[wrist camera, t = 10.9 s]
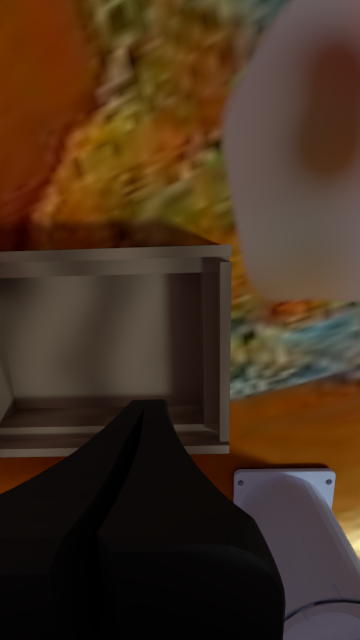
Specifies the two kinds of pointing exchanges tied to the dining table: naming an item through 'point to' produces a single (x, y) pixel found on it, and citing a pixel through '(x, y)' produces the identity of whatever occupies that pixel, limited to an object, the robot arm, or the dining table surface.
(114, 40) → the dining table surface
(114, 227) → the dining table surface
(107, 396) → the walnut box
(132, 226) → the dining table surface
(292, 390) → the dining table surface
